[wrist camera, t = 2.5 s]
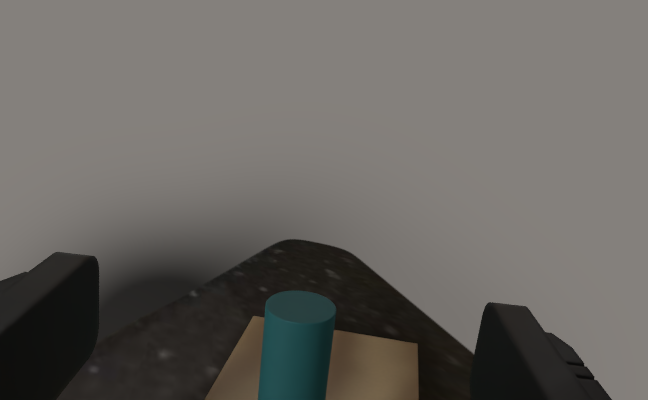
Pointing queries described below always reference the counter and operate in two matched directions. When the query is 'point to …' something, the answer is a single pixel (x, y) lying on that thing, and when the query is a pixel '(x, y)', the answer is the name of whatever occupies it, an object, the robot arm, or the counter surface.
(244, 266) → the counter surface
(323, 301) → the dish brush
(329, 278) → the counter surface
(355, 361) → the birch board
